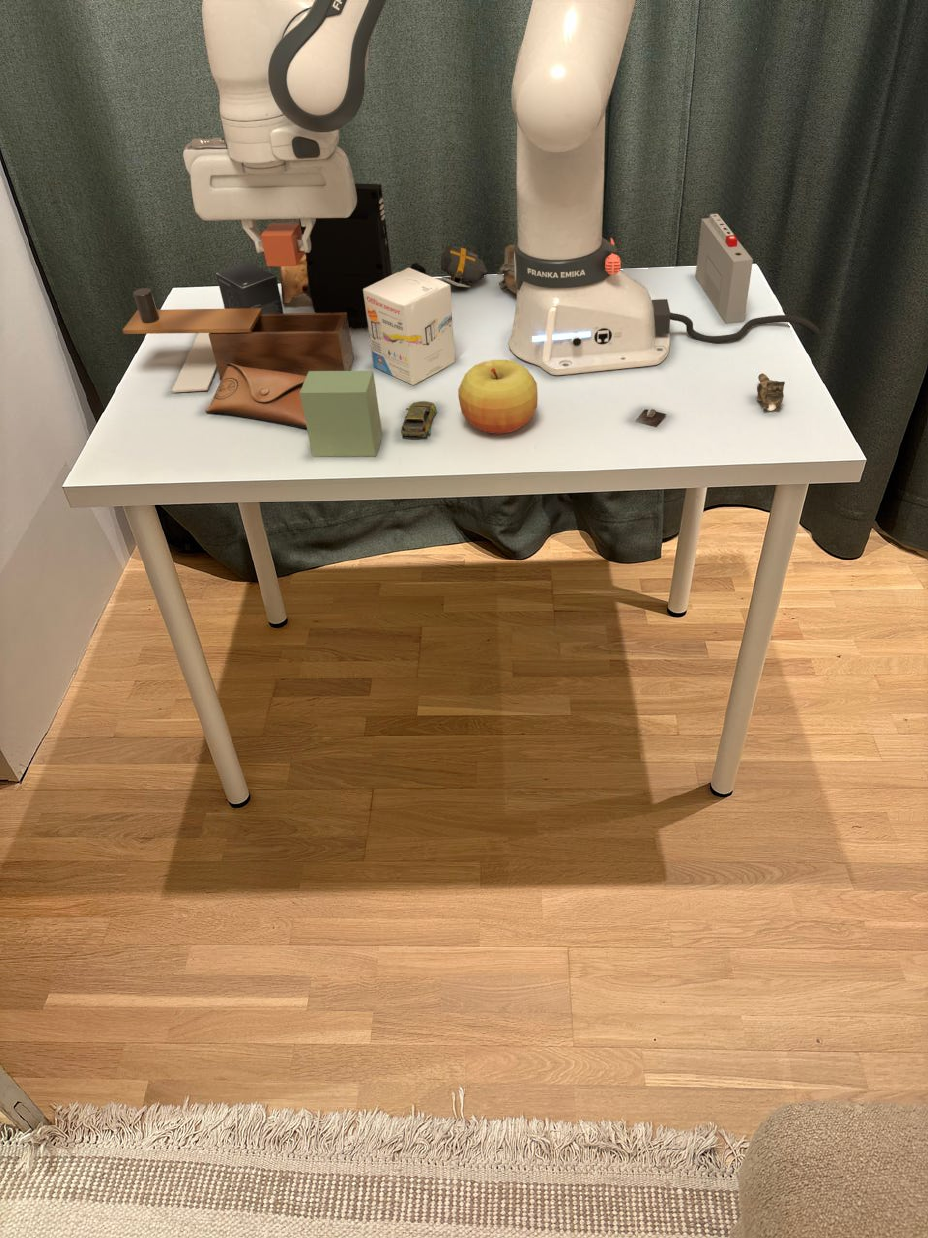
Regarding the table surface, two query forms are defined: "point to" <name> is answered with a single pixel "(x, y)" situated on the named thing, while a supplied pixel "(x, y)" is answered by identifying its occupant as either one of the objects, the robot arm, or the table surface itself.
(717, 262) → the cassette player
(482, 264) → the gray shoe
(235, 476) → the table surface
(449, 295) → the ink box
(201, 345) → the nameplate
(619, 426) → the table surface
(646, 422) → the square knob tile
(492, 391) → the apple
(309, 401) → the block
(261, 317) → the storage box
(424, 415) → the race car
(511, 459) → the table surface
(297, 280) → the tan porous chunk
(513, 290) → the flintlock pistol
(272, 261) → the block
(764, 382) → the cat figurine
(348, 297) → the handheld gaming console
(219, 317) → the lid
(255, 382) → the sunglasses case
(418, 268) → the wireless earbuds
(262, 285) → the box
